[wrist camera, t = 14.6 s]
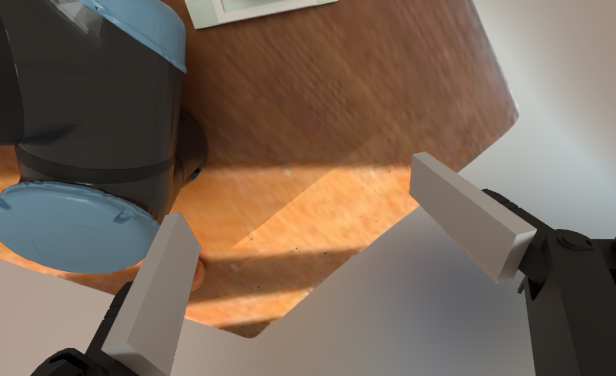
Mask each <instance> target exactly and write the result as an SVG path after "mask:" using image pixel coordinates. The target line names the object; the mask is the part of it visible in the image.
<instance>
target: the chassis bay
mask: <svg viewBox="0 0 616 376" xmlns="http://www.w3.org/2000/svg"><path fill="white" fill-rule="evenodd" d="M336 1H338V0H185V3H186V5H187V8H188V11H189V14H190V16H191V19H192V22H193V25H194V28H195V29H201V28H206V27H211V26H216V25H221V24H226V23H231V22H236V21H241V20H246V19H251V18H256V17H261V16H266V15H271V14H276V13H281V12H286V11H291V10H296V9H301V8H306V7H311V6H316V5H321V4H326V3H331V2H336Z"/></svg>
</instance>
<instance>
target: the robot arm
mask: <svg viewBox="0 0 616 376" xmlns="http://www.w3.org/2000/svg"><path fill="white" fill-rule="evenodd" d="M185 47H186V31H185V27H184V24H183V22H182V20H181V19H180V17H179V16H178V14H177V13H176V12H175V11H174V10H173V9H172V8H171V7H169V6H168V5H166V4H165V3H163V2H162V1H160V0H0V145H14V147H15V151H16V156H17V161H18V165H19V170H20V175H21V177H20V181H19V183H18V184H16V185H12V186H9V187H8V188H6V189H3V191H2V192H1V193H0V242H1V243H3V244H4V245H5V246H6V247H8V248H9V249H10V250H12V251H13V252H15V253H17V254H18V255H20V256H22V257H24V258H26V259H28V260H31V261H34V262H36V263H39V264H41V265H43V266H46V267H50V268H53V269H57V270H62V271H67V272H74V273H86V274H100V273H110V272H115V271H120V270H123V269H125V268H127V267H129V266H133V265H135V264H137V263H139V262H140V261H141V260H143V259H144V258H145V259H144V261H143V263H142V265H141V267H140V269H139V271H138V273H137V276H136V278H135V280H134V281H131V282H128V283H126V284H125V285H124V286H123V287H122V288H121V289H120V291H119V292H118V293H117V294H116V295H115V297H114V299H113V301H112V303H111V305H110V309H109V310H108V311H107V313H106V315H105V317H104V320H102V322H101V324H100V326H99V328H98V330H97V332H96V334H95V336H94V338H93V340H92V341H91V343H90V345H89V347H88V349H87V351H86V353H85V355H84V354H83V353H81V352H80V351H78V350H76V349H75V348H66V349H64V350H61V351H58V352H57V353H55V354H54V355H52V356H51V357H49V358H48V359H46V360H45V361H44V362H43V363H42V364H41V365H39V366H38V367H37V368H36V370H35V371H34V372H33V373H32V374H31V376H170V373H171V368H172V364H173V360H174V356H175V352H176V348H177V343H178V340H179V336H180V331H181V327H182V323H183V319H184V315H185V311H186V307H187V303H188V299H189V295H190V291H191V287H192V282H193V278H194V274H195V270H196V266H197V262H198V258H199V254H200V250H201V246H200V244H199V242H198V241H197V239H196V237H195V236H194V234H193V232H192V231H191V229H190V227H189V226H188V224H187V222H186V221H185V219H184V217H183V216H182V214H181V212H176V213H172V214H169V213H170V210H171V208H172V206H173V204H174V202H175V200H176V197H177V195H178V193H179V191H180V189H181V188H182V187H184V186H186V185H187V184H189V183H190V182H192V181H193V180H194V179H195V178H196V177H197V176H198V175H199V173H200V172H201V170H202V168H203V166H204V163H205V161H206V157H207V142H206V138H205V136H204V133H203V131H202V129H201V127H200V126H199V124H198V123H197V122H196V121H195V119H194V118H193V117H192V116H191V115H190V114H189V113H187V112H186V111H185V110H183V109H182V108H181V107H180V106H181V96H182V85H183V75H184V74H186V73H187V68H186V67H185ZM409 194H410V195H411V196H412V197H413V198H414V199H415V200H416V201H417V202H418V203H419V204H420V205H421V206H422V207H423V208H424V210H425V211H426V212H427V213H428V214H429V215H430V216H431V217H432V218H433V219H434V220H435V221H436V222H437V223H438V224H439V225H440V226H441V227H442V228H443V229H444V230H445V231H446V232H447V233H448V234H449V235H450V236H451V237H452V239H454V241H456V243H457V244H458V245H459V246H460V247H461V248H462V249H463V250H464V251H465V252H466V253H467V254H468V255H469V256H470V257H471V258H472V259H473V260H474V261H475V262H476V263H477V264H478V265H479V266H480V267H481V269H482V270H484V272H485V273H486V274H487V275H488V276H489V277H490V278H491V279H492V280H493V281H494V282H495V283H499V282H502V281H506V280H510V279H513V278H514V276H515V274H516V272H517V270H518V269H519V270H520V271H521V272H523V273H524V274H525V277H524V279H523V281H522V282H521V284H520V286H519V288H518V293H520V294H521V292H522V291H523V289H524V290H525V298H526V305H527V313H528V320H529V328H530V335H531V343H532V351H533V358H534V366H535V373H536V376H616V237H615V239H589V238H588V237H587V236H584V235H582V234H580V233H577V232H574V231H570V230H563V229H557V230H554V229H552V228H551V227H549V226H548V225H546V224H545V223H543V222H541V221H540V220H539V219H537V218H535V217H534V216H532V215H531V214H529V213H528V212H526V211H525V210H523V209H522V208H519V207H518V206H517V205H516V204H514V203H512V202H510V201H509V200H508V199H507V198H505V197H503V196H502V195H500V194H499V193H496V192H493V191H491V190H488V189H483V190H480V189H478V188H477V187H475V186H474V185H473V184H471V183H470V182H468V181H467V180H465V179H464V178H462V177H461V176H460V175H458V174H457V173H455V172H454V171H452V170H451V169H450V168H448V167H447V166H445V165H444V164H442V163H441V162H439V161H438V160H437V159H435V158H434V157H432V156H431V155H429V154H428V153H426V152H421V153H417V154H413V155H412V165H411V178H410V190H409Z"/></svg>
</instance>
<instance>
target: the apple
mask: <svg viewBox="0 0 616 376" xmlns="http://www.w3.org/2000/svg"><path fill="white" fill-rule="evenodd" d="M204 278H205V268H204V265H203V263H202V262H201V260H199V259H198V262H197V266H196V270H195V274H194V278H193V282H192V287H191V291H194V290H196V289H198V288H199V287H200V286H201V284H202V283H203V281H204ZM191 291H190V292H191Z"/></svg>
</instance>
